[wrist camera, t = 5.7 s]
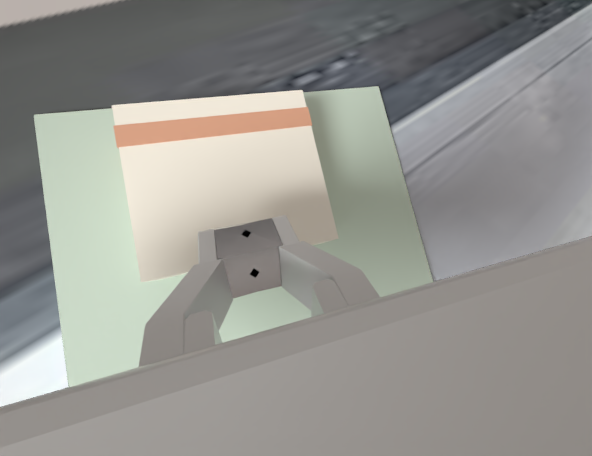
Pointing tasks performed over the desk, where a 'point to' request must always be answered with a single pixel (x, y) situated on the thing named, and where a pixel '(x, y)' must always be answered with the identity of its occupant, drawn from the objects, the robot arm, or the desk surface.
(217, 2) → the desk surface
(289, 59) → the desk surface
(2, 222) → the desk surface
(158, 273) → the card box
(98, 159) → the mat
